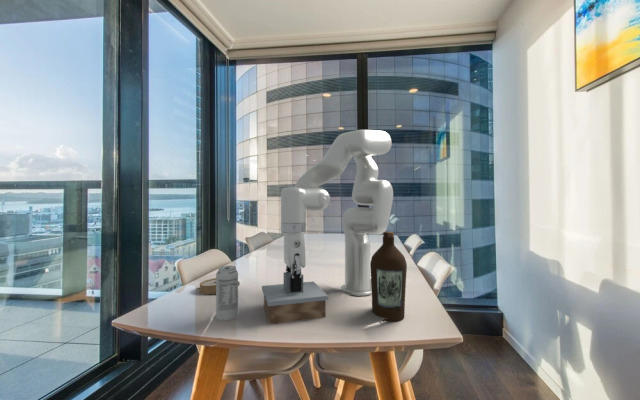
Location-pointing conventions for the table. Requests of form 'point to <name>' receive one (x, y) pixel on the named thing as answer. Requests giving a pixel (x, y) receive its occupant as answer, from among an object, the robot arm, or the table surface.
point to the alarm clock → (209, 286)
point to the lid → (284, 296)
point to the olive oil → (388, 280)
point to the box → (295, 311)
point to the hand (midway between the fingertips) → (293, 287)
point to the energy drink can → (226, 293)
